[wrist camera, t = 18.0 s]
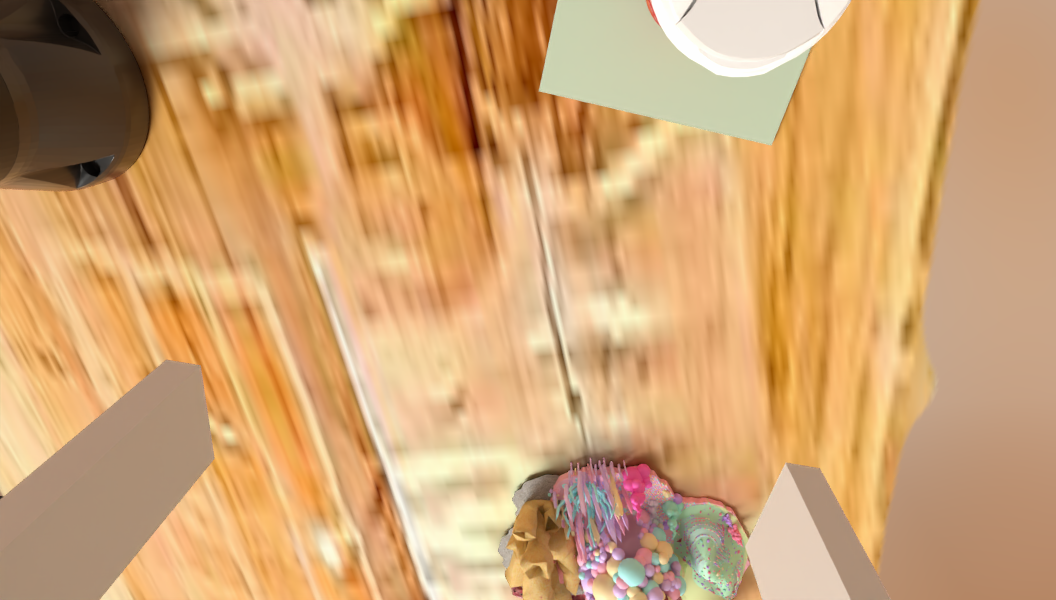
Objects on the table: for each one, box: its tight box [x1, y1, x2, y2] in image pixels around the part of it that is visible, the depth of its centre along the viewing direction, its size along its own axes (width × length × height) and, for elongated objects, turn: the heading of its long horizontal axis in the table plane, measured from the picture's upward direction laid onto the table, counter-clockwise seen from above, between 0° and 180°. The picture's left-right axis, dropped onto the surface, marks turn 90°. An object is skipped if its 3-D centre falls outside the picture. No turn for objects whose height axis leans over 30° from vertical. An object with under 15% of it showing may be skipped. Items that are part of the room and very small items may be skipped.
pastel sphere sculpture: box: [498, 457, 750, 600], centre depth 52 cm, size 25×24×9 cm
